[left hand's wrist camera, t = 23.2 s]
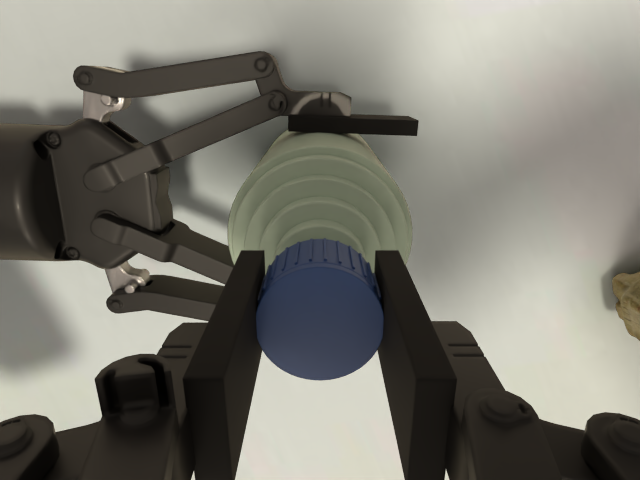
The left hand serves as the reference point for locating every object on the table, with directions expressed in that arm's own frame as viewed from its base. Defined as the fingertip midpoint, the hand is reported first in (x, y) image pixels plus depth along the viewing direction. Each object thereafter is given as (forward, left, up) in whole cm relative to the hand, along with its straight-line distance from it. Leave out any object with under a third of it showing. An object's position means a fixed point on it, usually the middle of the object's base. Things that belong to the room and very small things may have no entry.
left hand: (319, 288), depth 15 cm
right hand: (-4, -2, -11) cm, 12 cm away
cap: (0, 0, +2) cm, 2 cm away
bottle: (0, 0, -17) cm, 17 cm away
